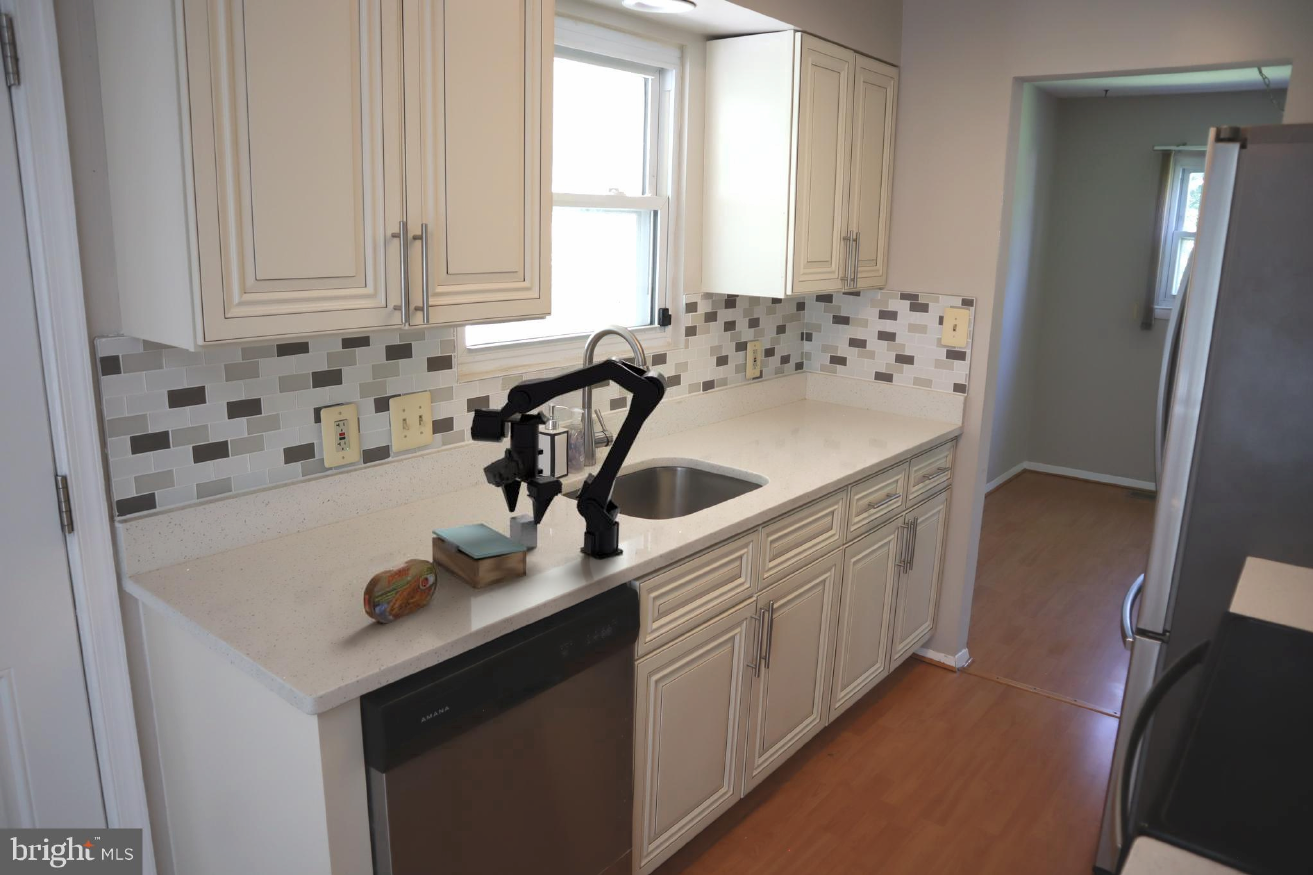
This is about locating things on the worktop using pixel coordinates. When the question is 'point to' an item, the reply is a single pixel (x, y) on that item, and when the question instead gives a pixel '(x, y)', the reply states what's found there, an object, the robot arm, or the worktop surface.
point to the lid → (477, 541)
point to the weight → (524, 530)
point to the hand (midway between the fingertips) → (524, 518)
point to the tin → (400, 590)
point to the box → (479, 565)
